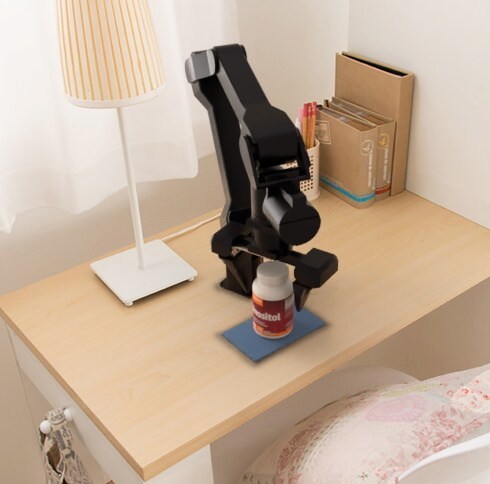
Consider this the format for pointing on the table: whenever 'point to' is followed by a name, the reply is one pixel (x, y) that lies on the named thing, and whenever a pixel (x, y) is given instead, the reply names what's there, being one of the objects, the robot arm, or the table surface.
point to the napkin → (263, 347)
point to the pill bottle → (272, 300)
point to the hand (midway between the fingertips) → (273, 300)
